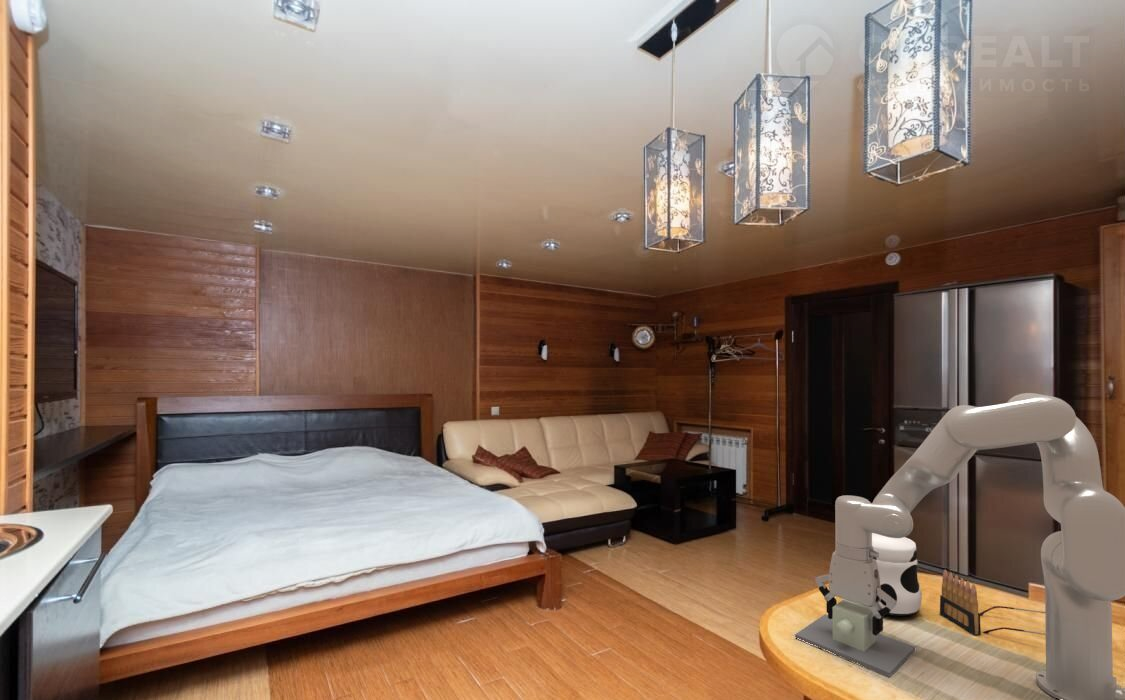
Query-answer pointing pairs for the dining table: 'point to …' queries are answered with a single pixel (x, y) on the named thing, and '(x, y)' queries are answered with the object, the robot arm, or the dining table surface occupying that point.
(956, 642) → the dining table surface
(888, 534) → the robot arm
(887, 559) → the milk container
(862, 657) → the board
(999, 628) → the sunglasses
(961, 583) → the ammunition clip
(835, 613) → the block with round peg
